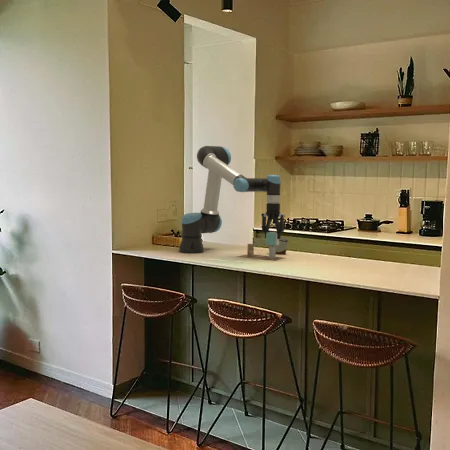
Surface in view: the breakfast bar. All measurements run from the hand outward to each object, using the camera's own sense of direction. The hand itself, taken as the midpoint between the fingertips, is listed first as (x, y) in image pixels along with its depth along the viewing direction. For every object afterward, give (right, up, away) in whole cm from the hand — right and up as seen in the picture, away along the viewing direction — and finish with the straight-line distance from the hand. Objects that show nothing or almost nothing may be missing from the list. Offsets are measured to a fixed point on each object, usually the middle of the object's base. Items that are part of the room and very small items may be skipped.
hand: (272, 244), depth 312 cm
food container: (+5, -7, +19) cm, 21 cm away
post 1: (-12, -7, +8) cm, 16 cm away
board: (-6, -8, +5) cm, 11 cm away
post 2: (0, -8, +1) cm, 8 cm away
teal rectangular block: (0, 0, 0) cm, 0 cm away
